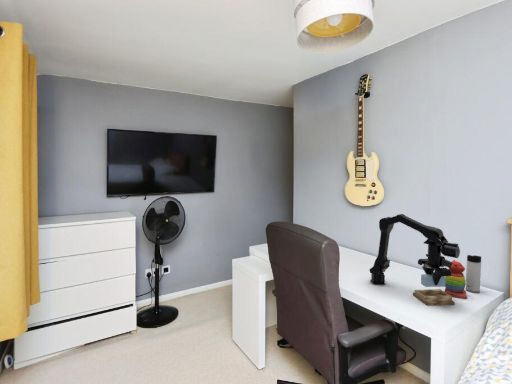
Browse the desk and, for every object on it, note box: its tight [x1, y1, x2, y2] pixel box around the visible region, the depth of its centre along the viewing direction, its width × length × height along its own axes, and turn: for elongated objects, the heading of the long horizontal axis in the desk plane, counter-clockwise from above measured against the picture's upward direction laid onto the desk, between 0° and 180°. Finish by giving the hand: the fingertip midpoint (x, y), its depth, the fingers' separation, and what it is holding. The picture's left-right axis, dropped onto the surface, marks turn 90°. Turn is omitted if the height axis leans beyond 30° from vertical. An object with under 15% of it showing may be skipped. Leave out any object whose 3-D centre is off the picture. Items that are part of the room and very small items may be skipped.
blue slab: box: [420, 273, 446, 288], centre depth 149 cm, size 10×4×6 cm, turn 89°
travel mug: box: [465, 254, 482, 294], centre depth 159 cm, size 6×7×20 cm
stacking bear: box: [443, 259, 468, 300], centre depth 155 cm, size 11×10×18 cm
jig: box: [412, 288, 455, 307], centre depth 150 cm, size 14×12×4 cm
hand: (433, 283), depth 149 cm, fingers closed on blue slab, 4 cm apart
